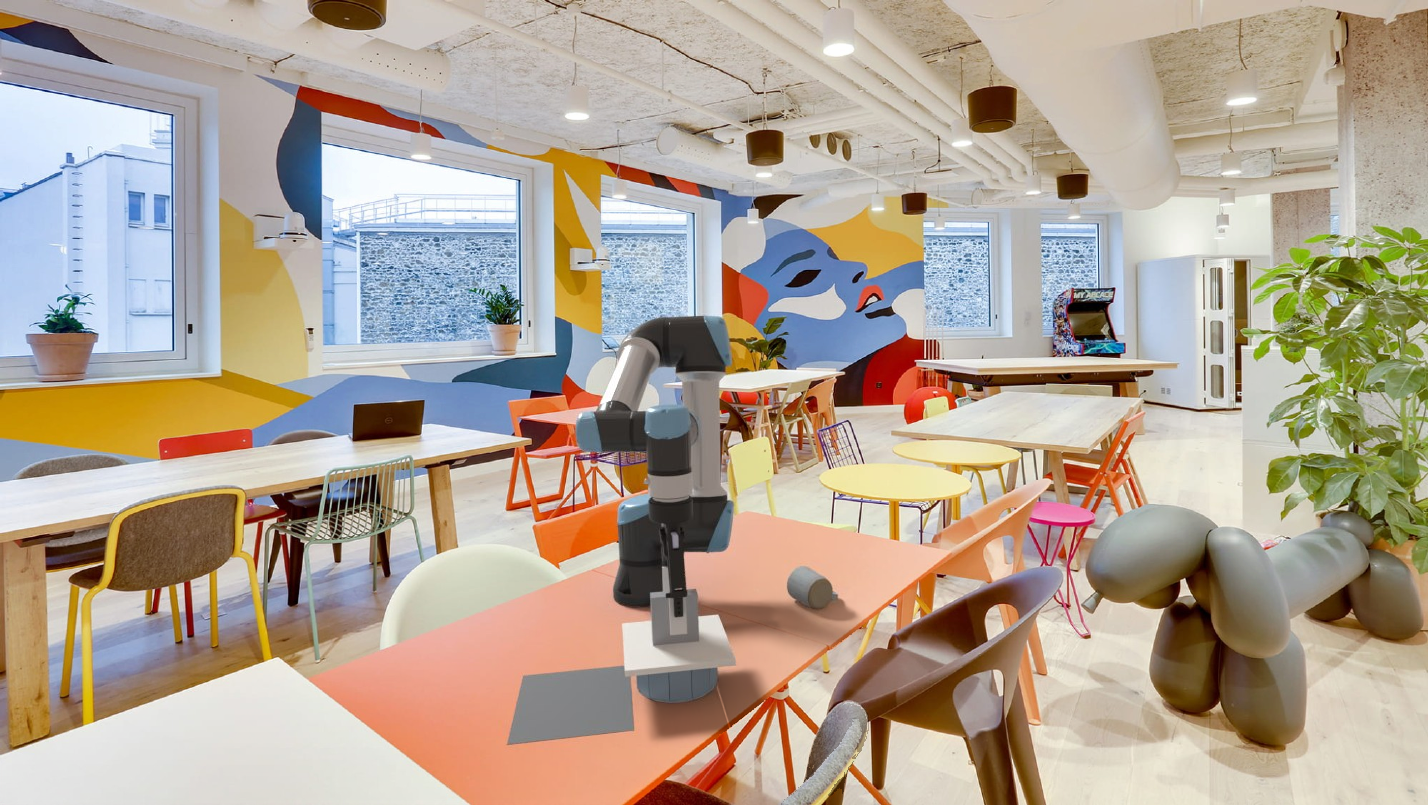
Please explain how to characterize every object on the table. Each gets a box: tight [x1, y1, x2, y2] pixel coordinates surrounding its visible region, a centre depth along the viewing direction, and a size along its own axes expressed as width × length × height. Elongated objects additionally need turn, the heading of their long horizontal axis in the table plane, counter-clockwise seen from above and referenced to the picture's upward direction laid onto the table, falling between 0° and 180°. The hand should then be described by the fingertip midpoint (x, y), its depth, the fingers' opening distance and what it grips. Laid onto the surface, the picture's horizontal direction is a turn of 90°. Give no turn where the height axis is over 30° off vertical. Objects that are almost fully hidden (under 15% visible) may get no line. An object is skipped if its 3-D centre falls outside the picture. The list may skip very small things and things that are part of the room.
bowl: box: [635, 667, 719, 704], centre depth 122 cm, size 14×14×7 cm
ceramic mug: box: [786, 565, 839, 610], centre depth 155 cm, size 11×8×8 cm
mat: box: [506, 665, 635, 746], centre depth 116 cm, size 21×19×1 cm
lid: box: [621, 588, 737, 677], centre depth 121 cm, size 18×18×10 cm
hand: (674, 616), depth 121 cm, fingers open, 13 cm apart
